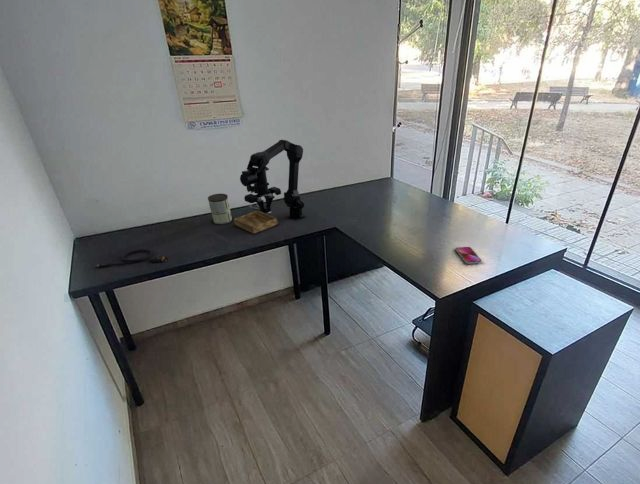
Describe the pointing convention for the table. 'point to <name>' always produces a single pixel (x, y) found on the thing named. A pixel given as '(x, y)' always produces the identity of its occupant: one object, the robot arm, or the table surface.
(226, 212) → the coffee can
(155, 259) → the cable
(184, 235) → the table surface
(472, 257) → the smartphone
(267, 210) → the tongs
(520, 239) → the table surface
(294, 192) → the robot arm
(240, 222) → the brown wooden tray
